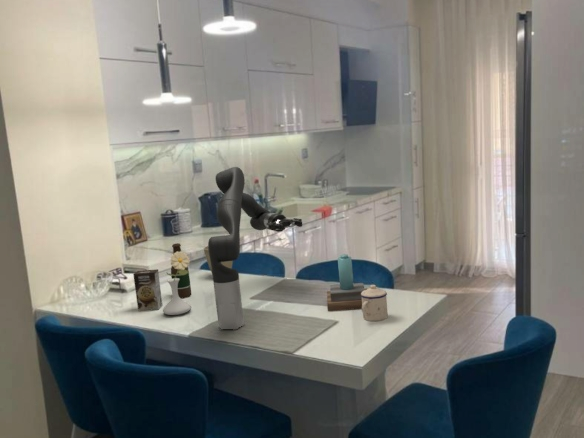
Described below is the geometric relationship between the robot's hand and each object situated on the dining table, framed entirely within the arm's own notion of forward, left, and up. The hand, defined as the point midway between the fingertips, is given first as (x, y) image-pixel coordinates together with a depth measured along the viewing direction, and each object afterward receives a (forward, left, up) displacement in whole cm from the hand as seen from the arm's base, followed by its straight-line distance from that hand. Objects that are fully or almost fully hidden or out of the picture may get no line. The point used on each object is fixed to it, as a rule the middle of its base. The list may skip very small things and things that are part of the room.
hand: (291, 225), depth 225 cm
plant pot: (+43, +40, -30) cm, 67 cm away
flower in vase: (-9, +48, -30) cm, 57 cm away
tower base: (-13, -20, -30) cm, 38 cm away
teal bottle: (-13, -20, -24) cm, 34 cm away
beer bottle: (+15, +53, -30) cm, 63 cm away
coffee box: (0, +63, -30) cm, 70 cm away
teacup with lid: (-33, -28, -30) cm, 53 cm away
